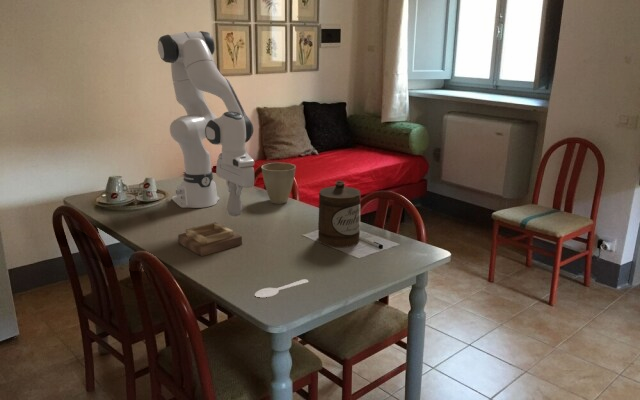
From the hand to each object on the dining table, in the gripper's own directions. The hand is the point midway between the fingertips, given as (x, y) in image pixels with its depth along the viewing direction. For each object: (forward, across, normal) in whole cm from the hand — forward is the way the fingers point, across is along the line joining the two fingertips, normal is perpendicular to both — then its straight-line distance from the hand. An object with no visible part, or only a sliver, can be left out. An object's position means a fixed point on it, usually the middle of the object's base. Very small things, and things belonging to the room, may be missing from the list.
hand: (234, 193), depth 195 cm
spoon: (+13, +51, -17) cm, 55 cm away
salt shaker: (+8, 0, 0) cm, 8 cm away
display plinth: (+14, +7, -15) cm, 22 cm away
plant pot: (+14, -17, +34) cm, 41 cm away
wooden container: (+13, +34, +22) cm, 43 cm away
